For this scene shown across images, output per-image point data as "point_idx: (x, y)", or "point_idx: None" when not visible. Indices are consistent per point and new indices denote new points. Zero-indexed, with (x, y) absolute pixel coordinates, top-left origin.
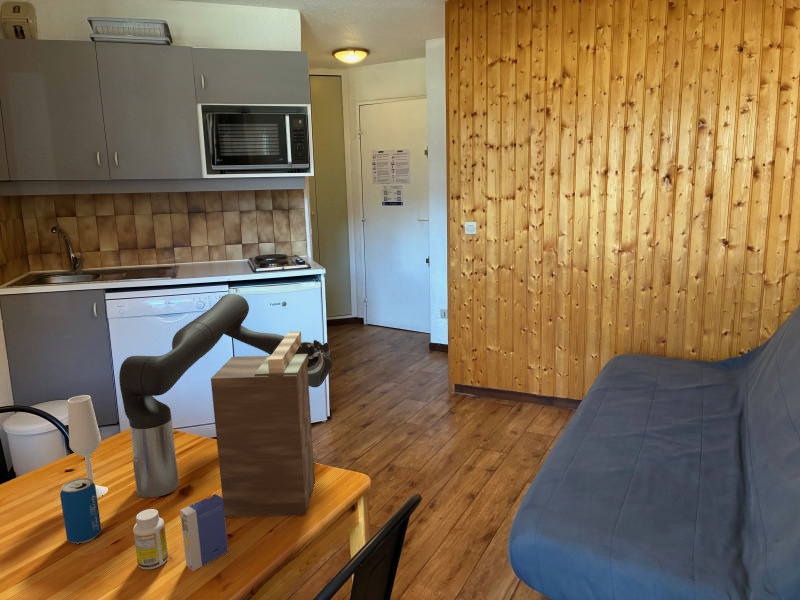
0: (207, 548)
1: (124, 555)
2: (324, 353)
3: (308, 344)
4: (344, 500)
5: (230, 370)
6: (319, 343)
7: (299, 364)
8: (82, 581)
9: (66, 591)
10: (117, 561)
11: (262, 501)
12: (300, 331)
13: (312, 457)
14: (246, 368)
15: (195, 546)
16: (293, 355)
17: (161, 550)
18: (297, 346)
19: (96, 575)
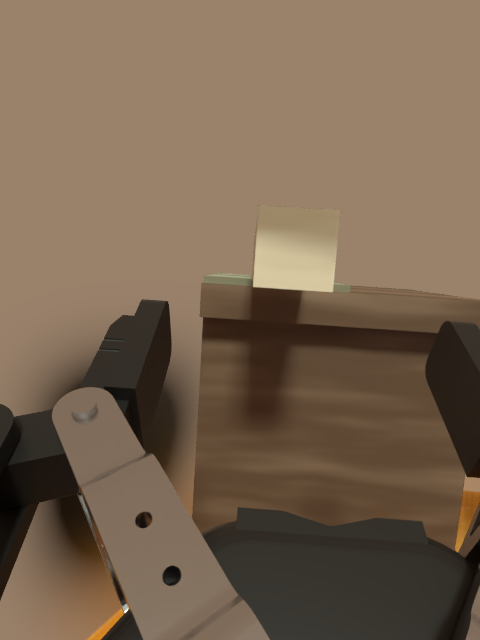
0: None
1: (466, 530)
2: (17, 549)
3: (251, 610)
4: (111, 618)
5: (398, 290)
6: (111, 339)
7: (220, 274)
8: (469, 501)
9: (470, 492)
10: (463, 522)
11: None
12: (260, 205)
13: None
14: (363, 288)
15: None
16: (252, 276)
17: None
18: (253, 267)
19: (463, 506)
